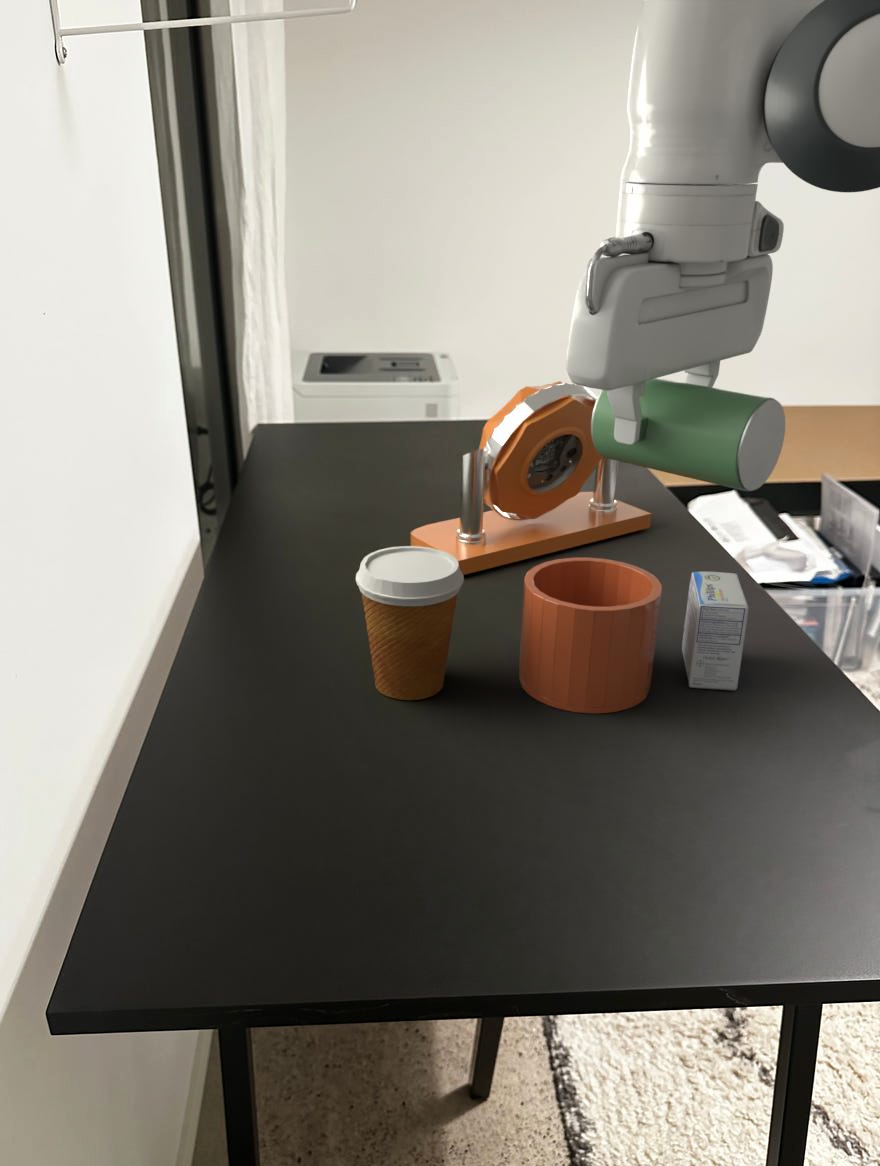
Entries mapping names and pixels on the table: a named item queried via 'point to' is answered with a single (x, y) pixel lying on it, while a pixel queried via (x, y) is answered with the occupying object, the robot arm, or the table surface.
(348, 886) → the table surface
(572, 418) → the desk clock
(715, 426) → the can
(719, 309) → the robot arm
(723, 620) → the medicine box
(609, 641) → the holder
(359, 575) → the disposable coffee cup
